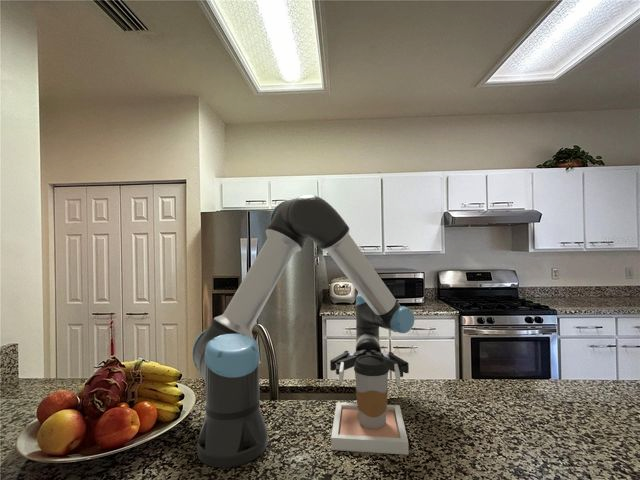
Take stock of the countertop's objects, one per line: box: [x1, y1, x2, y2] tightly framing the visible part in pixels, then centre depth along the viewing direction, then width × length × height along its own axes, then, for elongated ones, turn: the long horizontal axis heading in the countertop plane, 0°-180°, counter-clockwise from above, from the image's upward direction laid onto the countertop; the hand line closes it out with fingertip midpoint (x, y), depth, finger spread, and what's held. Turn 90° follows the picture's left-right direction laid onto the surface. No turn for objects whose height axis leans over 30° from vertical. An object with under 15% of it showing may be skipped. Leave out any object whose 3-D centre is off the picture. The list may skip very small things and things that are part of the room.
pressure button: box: [340, 409, 399, 438], centre depth 79 cm, size 13×13×1 cm
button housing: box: [330, 401, 410, 455], centre depth 79 cm, size 16×16×3 cm
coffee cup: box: [353, 355, 390, 430], centre depth 79 cm, size 8×8×15 cm
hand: (369, 378), depth 79 cm, fingers open, 13 cm apart
